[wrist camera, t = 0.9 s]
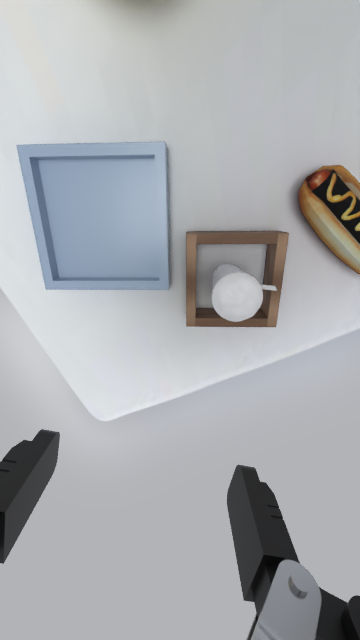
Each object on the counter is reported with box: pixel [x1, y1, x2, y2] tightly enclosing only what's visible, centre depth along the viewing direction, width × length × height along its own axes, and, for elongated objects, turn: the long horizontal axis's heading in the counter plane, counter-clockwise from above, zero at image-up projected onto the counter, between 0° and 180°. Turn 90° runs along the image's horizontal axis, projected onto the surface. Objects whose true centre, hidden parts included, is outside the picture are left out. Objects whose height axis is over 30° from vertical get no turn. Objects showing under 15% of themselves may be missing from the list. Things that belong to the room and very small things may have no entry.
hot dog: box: [299, 165, 360, 274], centre depth 26 cm, size 5×13×5 cm, turn 49°
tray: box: [17, 142, 170, 290], centre depth 28 cm, size 14×14×2 cm
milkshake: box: [212, 264, 277, 322], centre depth 27 cm, size 4×5×10 cm
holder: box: [186, 231, 289, 327], centre depth 30 cm, size 10×10×4 cm
